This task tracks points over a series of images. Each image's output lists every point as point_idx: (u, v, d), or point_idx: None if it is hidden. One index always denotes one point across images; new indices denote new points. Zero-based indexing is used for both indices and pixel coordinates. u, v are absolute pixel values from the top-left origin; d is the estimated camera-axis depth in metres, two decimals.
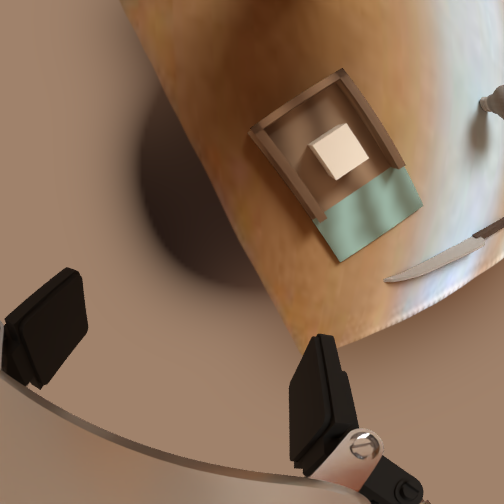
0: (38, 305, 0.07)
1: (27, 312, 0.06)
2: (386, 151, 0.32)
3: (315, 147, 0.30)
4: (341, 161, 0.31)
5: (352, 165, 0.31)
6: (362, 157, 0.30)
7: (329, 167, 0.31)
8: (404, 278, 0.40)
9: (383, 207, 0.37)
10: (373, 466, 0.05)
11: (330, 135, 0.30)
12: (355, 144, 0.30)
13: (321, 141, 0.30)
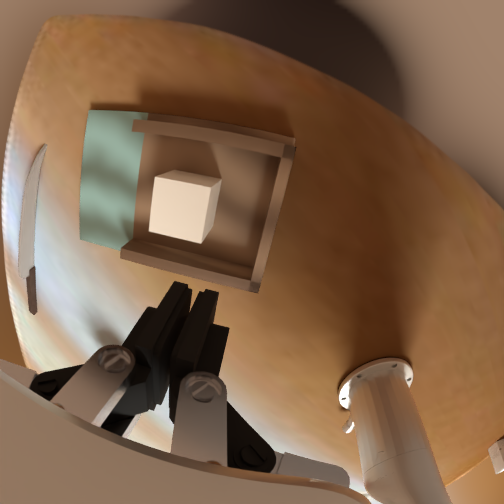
0: (167, 324, 0.08)
1: (159, 333, 0.08)
2: (147, 250, 0.28)
3: (206, 188, 0.22)
4: (168, 200, 0.23)
5: (155, 207, 0.23)
6: (154, 225, 0.24)
7: (173, 181, 0.22)
8: (32, 169, 0.26)
9: (102, 197, 0.28)
10: (224, 404, 0.06)
11: (203, 215, 0.23)
12: (172, 231, 0.24)
13: (206, 200, 0.23)
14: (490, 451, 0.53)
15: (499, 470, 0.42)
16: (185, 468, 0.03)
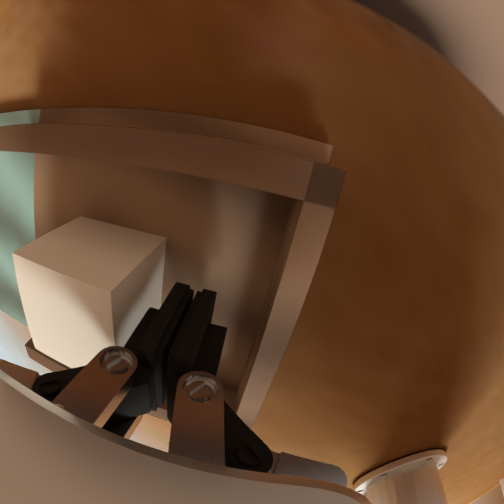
0: (169, 325, 0.08)
1: (162, 335, 0.08)
2: None
3: (101, 291, 0.08)
4: (41, 304, 0.08)
5: (30, 312, 0.09)
6: (39, 342, 0.09)
7: (39, 268, 0.08)
8: None
9: (3, 254, 0.14)
10: (221, 403, 0.06)
11: None
12: (67, 359, 0.09)
13: (107, 319, 0.08)
14: (502, 483, 0.37)
15: None
16: (185, 468, 0.03)
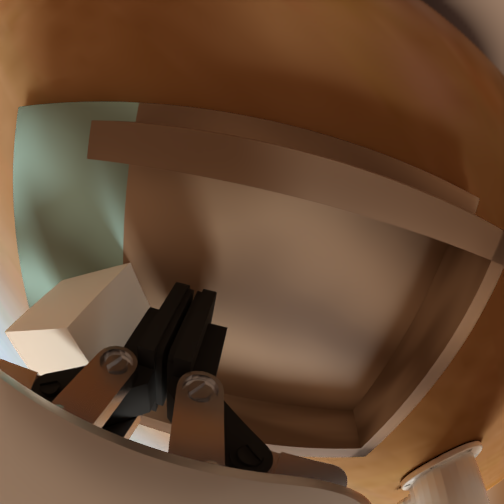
0: (169, 325, 0.08)
1: (162, 334, 0.08)
2: None
3: (62, 331, 0.07)
4: (41, 366, 0.08)
5: None
6: None
7: (23, 334, 0.08)
8: None
9: None
10: (221, 403, 0.06)
11: None
12: None
13: (81, 355, 0.08)
14: None
15: None
16: (185, 468, 0.03)
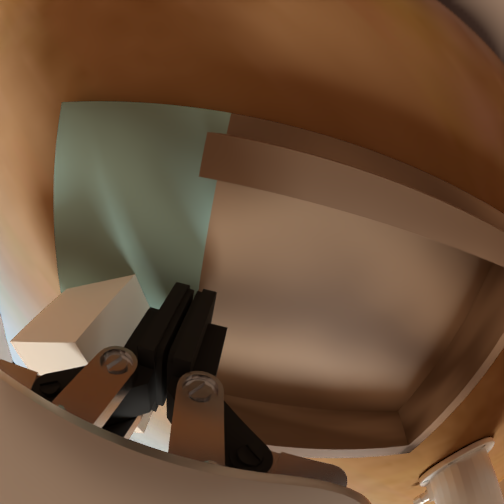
0: (169, 325, 0.08)
1: (162, 335, 0.08)
2: None
3: (70, 345, 0.07)
4: None
5: None
6: None
7: (29, 345, 0.08)
8: None
9: None
10: (221, 403, 0.06)
11: None
12: None
13: None
14: None
15: None
16: (185, 468, 0.03)
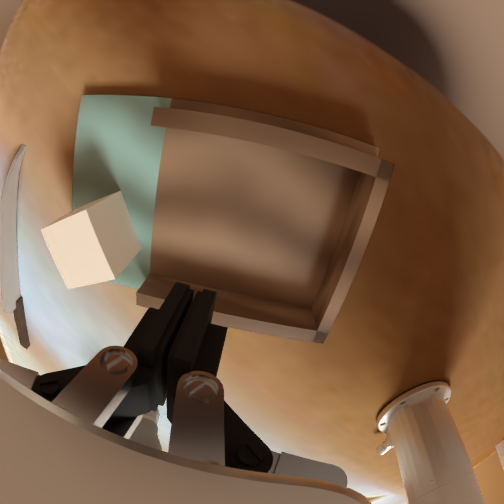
0: (169, 325, 0.08)
1: (162, 335, 0.08)
2: None
3: (82, 213, 0.15)
4: (62, 247, 0.16)
5: (58, 261, 0.17)
6: (68, 280, 0.17)
7: (55, 225, 0.16)
8: (8, 178, 0.18)
9: None
10: (221, 403, 0.06)
11: (97, 245, 0.16)
12: (84, 278, 0.17)
13: (90, 227, 0.16)
14: (498, 448, 0.53)
15: None
16: (185, 468, 0.03)
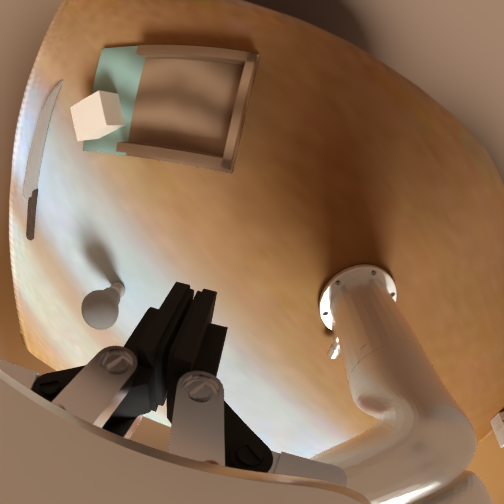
0: (169, 325, 0.08)
1: (161, 334, 0.08)
2: (139, 143, 0.31)
3: (96, 92, 0.26)
4: (80, 114, 0.27)
5: (76, 123, 0.28)
6: (79, 134, 0.28)
7: (80, 102, 0.26)
8: (49, 97, 0.29)
9: None
10: (221, 403, 0.06)
11: (101, 107, 0.27)
12: (89, 130, 0.28)
13: (99, 98, 0.26)
14: (492, 423, 0.57)
15: (503, 443, 0.46)
16: (185, 468, 0.03)
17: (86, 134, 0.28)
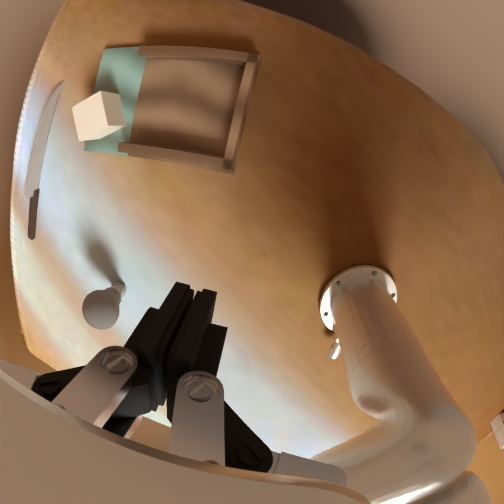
0: (169, 325, 0.08)
1: (162, 335, 0.08)
2: (140, 144, 0.32)
3: (98, 92, 0.26)
4: (82, 114, 0.27)
5: (78, 123, 0.28)
6: (80, 134, 0.28)
7: (81, 102, 0.27)
8: (51, 97, 0.30)
9: None
10: (222, 403, 0.06)
11: (102, 108, 0.27)
12: (90, 130, 0.28)
13: (100, 99, 0.27)
14: (493, 425, 0.57)
15: None
16: (185, 468, 0.03)
17: (88, 134, 0.28)
